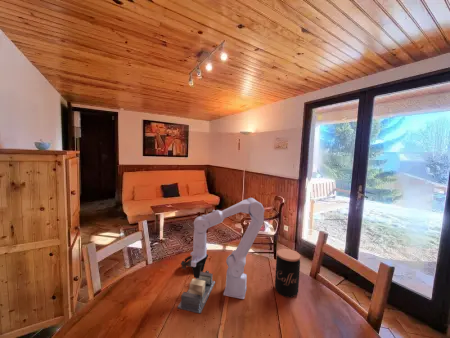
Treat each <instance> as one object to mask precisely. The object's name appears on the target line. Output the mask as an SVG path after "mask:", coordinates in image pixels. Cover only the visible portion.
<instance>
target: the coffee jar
mask: <svg viewBox="0 0 450 338" xmlns="http://www.w3.org/2000/svg"><path fill="white" fill-rule="evenodd" d="M300 268H301V254H300V253H299V252H297V251H296V250H294V249H289V248H280V249H278V250H277V251H276V261H275V276H274V277H275V279H274V288H275V290H276V292H277V293H278V295H281V296H282V297H286V298H294V297H296V296H297V295H298V293H299V285H300V272H301V270H300Z"/></svg>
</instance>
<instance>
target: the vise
mask: <svg viewBox="0 0 450 338" xmlns="http://www.w3.org/2000/svg"><path fill="white" fill-rule="evenodd" d="M215 284H216V281H215V280H212V284H211V285H207V284H205V292H204V294H203V296H202V297H201V295H197V294H192V293H189V289H188V290H187V291H183V292H182V294H181V297H180V298H181V299H180V302H179V303H178V305H177V309H179V310H184V311H187V312H191V313H197V314H200V315H201V313H202V312H203V309H204V308H205V305H206V303H207V301H208V300H209V296H210V295H211V292H212V290H213V289H214V286H215Z"/></svg>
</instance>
